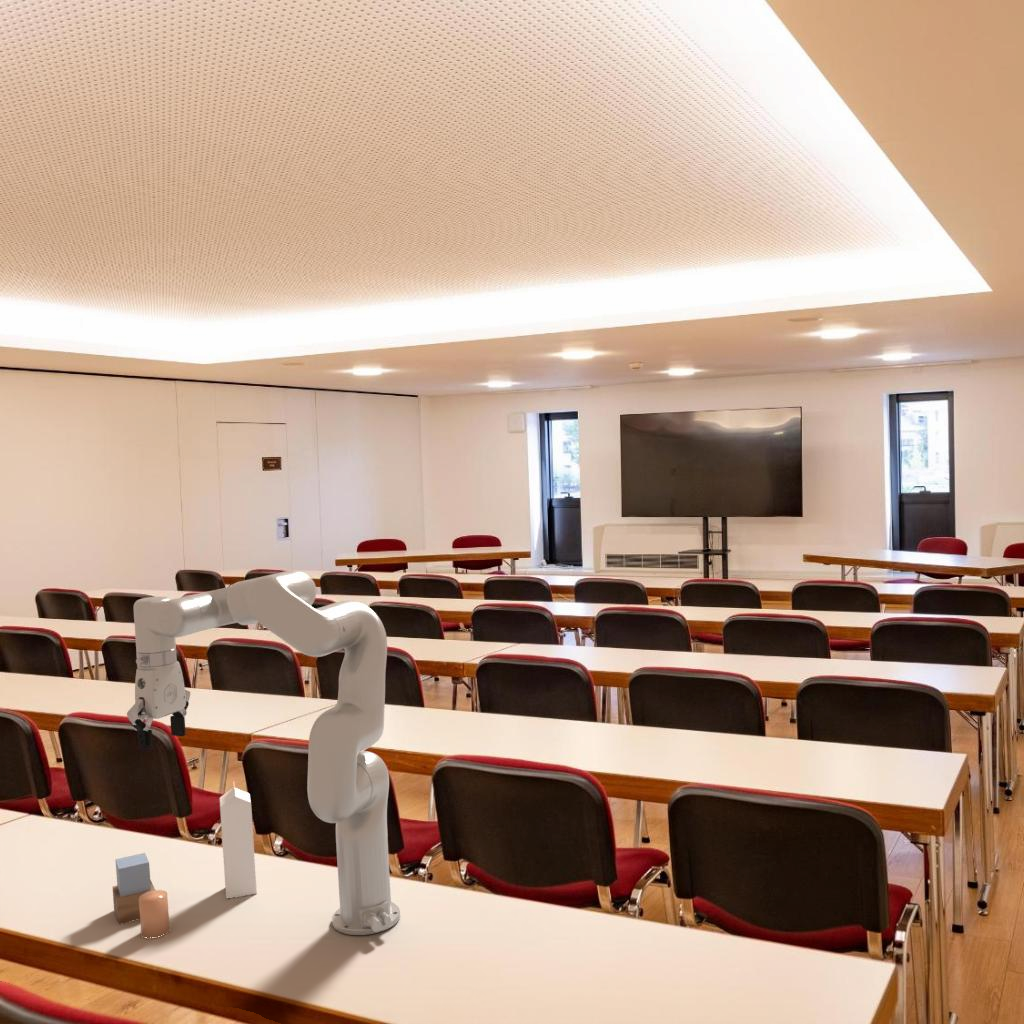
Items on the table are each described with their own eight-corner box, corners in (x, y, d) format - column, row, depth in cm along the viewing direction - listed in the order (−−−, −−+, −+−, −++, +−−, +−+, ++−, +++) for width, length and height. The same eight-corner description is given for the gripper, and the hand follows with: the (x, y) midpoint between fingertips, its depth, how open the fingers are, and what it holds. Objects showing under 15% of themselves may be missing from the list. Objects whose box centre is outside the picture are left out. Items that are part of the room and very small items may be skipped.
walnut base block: (157, 915, 193) (155, 890, 193) (118, 925, 190) (116, 899, 190) (151, 902, 199) (149, 877, 199) (114, 911, 196) (112, 886, 196)
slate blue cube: (151, 889, 193) (149, 862, 193) (120, 896, 191) (118, 868, 190) (146, 879, 198) (145, 852, 198) (117, 886, 196) (115, 859, 195)
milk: (255, 882, 206) (249, 777, 205) (256, 894, 200) (250, 786, 199) (224, 887, 204) (218, 781, 203) (225, 899, 199) (219, 791, 197)
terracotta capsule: (171, 934, 185) (169, 897, 184) (143, 941, 183) (140, 904, 182) (167, 923, 189) (164, 887, 189) (139, 930, 187) (136, 894, 187)
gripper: (141, 668, 191) (147, 756, 192) (200, 650, 207) (205, 731, 208) (110, 667, 193) (116, 754, 195) (170, 649, 210) (176, 729, 211)
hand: (162, 742), depth 201 cm, fingers open, 9 cm apart
